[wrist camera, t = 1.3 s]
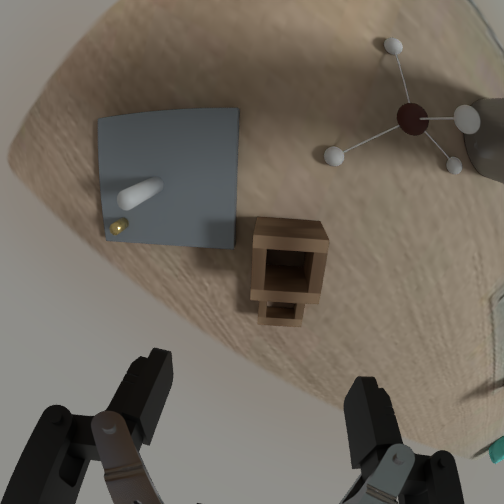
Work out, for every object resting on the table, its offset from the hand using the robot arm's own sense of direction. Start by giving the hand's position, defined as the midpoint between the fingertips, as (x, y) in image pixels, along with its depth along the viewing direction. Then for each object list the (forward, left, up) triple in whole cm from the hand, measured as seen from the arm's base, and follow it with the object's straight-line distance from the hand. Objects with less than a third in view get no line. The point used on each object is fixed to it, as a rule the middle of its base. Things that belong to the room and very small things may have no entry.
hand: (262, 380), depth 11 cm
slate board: (+10, -5, -18) cm, 21 cm away
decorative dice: (-89, +69, -18) cm, 114 cm away
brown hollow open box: (-2, +4, -18) cm, 18 cm away
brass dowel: (+15, -1, -17) cm, 22 cm away
